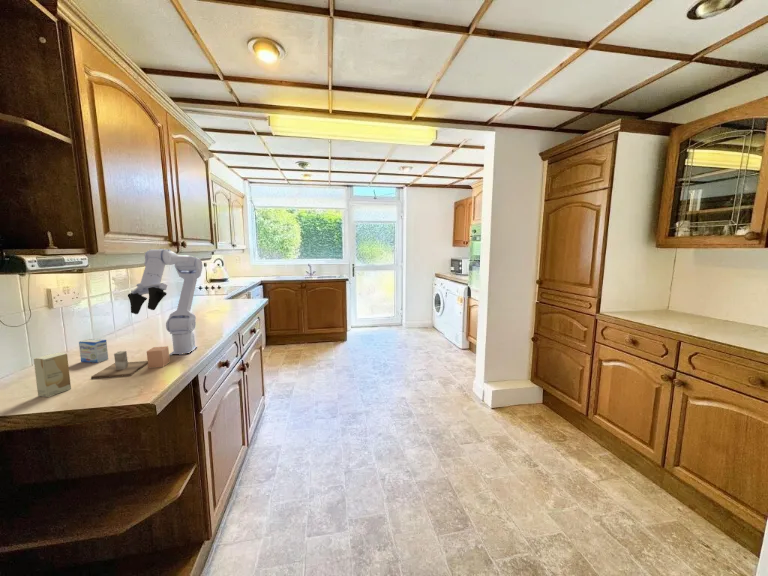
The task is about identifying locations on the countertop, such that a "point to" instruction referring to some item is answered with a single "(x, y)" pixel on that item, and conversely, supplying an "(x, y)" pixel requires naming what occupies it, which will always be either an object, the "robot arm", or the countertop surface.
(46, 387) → the skincare box
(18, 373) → the countertop surface
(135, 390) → the countertop surface
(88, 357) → the medicine box
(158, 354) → the square cap
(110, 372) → the post board
